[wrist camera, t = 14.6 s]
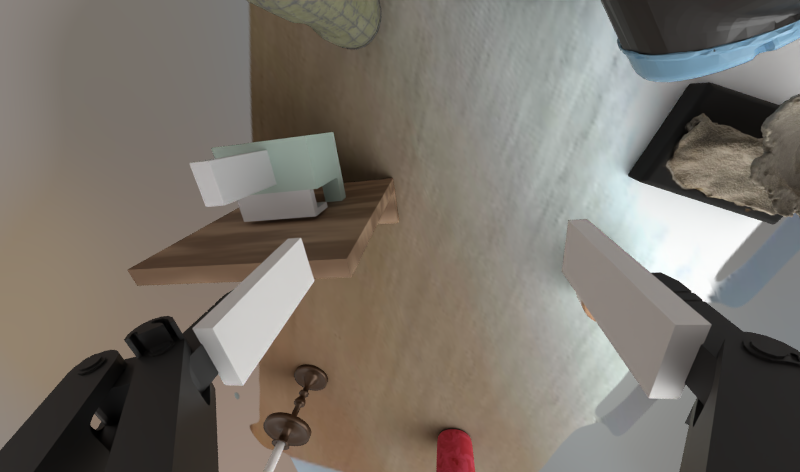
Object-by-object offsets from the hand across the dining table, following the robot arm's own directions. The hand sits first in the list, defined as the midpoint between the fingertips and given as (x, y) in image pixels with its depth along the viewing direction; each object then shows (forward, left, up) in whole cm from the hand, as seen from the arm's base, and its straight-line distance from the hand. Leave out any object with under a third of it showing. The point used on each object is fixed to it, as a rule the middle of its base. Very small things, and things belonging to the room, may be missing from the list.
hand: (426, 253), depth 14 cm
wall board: (+7, -20, -37) cm, 42 cm away
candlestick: (+57, -38, -37) cm, 78 cm away
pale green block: (0, -20, -28) cm, 34 cm away
